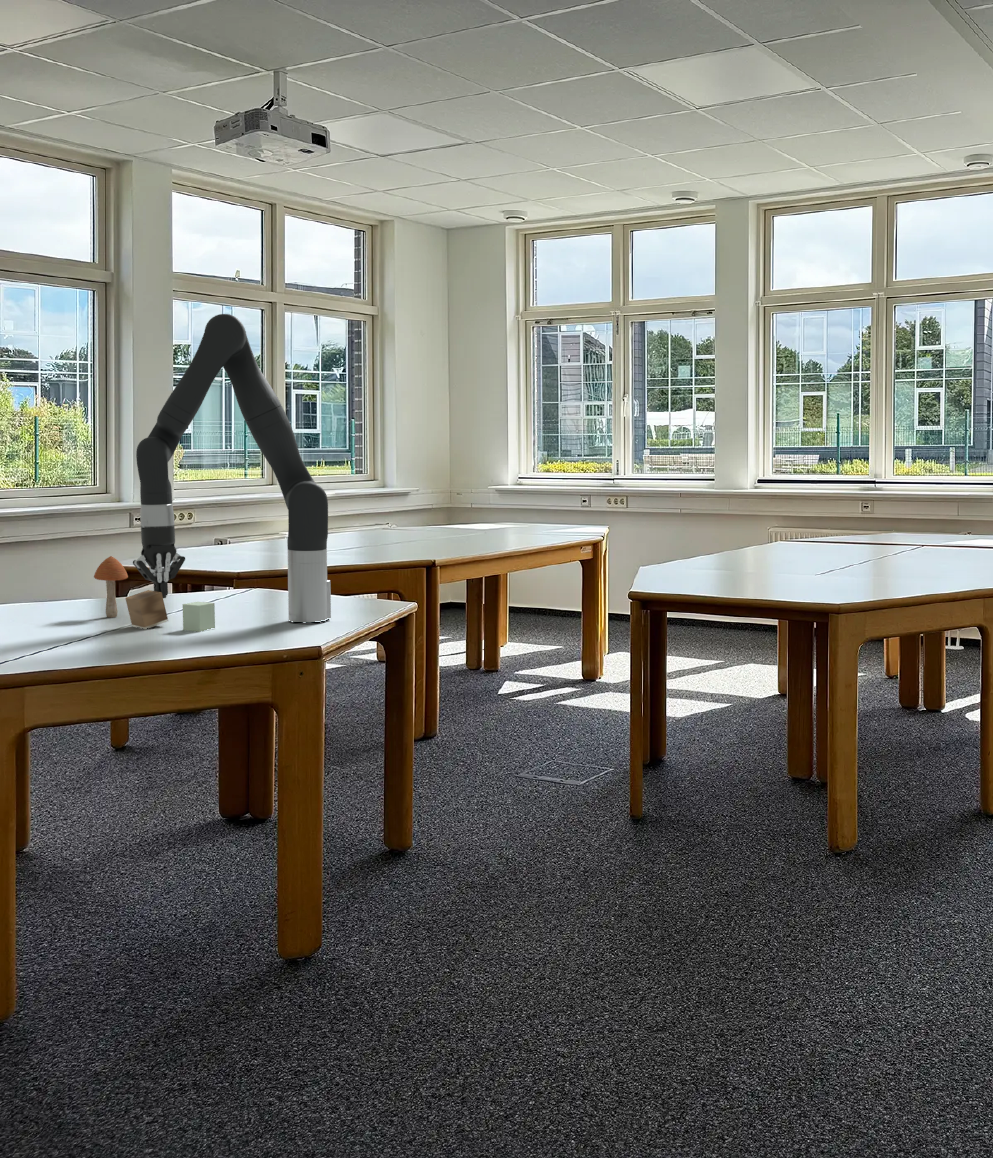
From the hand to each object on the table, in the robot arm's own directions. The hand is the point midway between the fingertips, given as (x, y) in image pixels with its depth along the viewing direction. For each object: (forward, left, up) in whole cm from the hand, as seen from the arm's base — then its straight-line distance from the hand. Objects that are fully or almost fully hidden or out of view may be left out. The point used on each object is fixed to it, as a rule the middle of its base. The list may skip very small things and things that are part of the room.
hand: (161, 598), depth 275 cm
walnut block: (+3, 0, -6) cm, 6 cm away
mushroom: (+2, -19, -7) cm, 20 cm away
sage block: (-2, +12, -6) cm, 14 cm away
